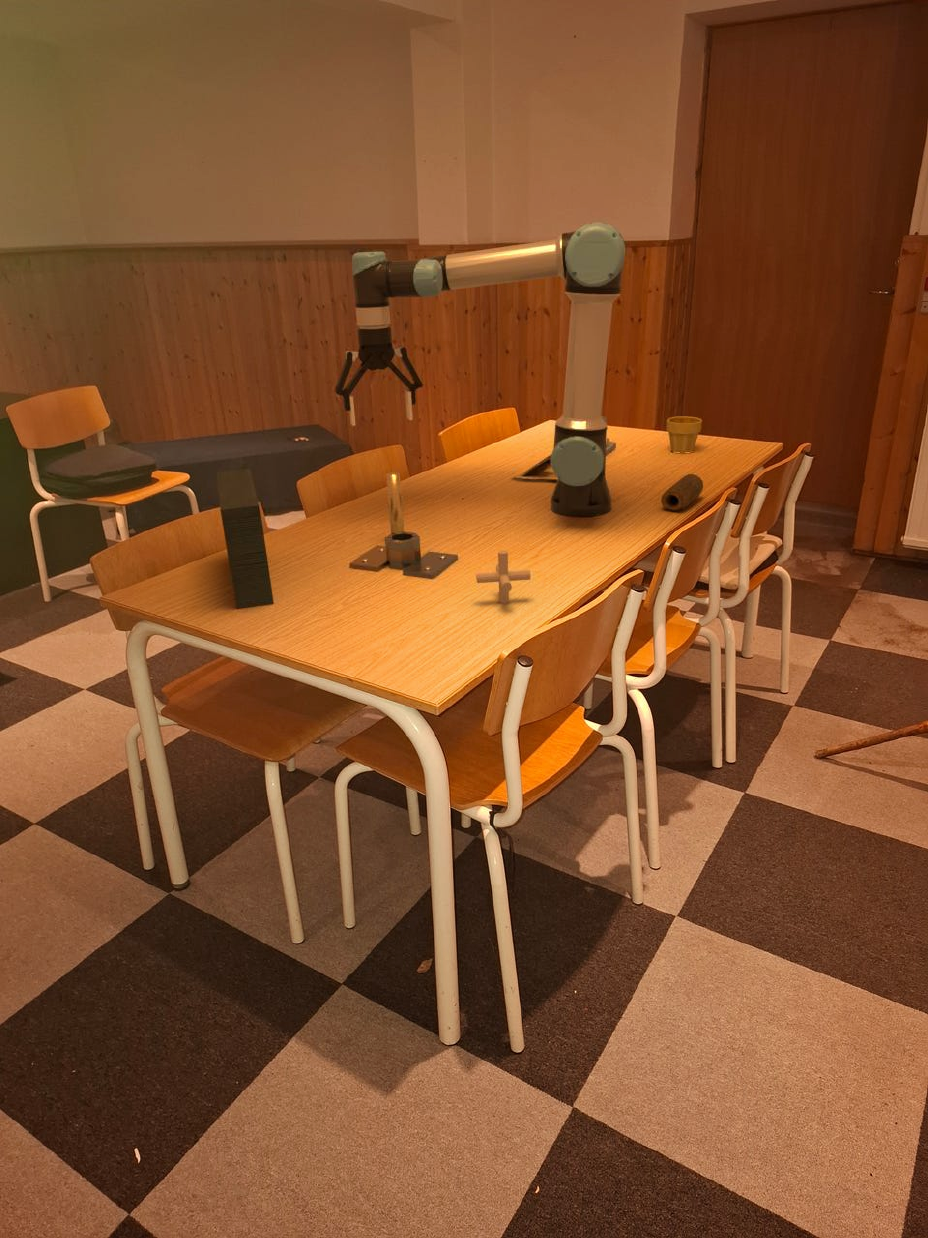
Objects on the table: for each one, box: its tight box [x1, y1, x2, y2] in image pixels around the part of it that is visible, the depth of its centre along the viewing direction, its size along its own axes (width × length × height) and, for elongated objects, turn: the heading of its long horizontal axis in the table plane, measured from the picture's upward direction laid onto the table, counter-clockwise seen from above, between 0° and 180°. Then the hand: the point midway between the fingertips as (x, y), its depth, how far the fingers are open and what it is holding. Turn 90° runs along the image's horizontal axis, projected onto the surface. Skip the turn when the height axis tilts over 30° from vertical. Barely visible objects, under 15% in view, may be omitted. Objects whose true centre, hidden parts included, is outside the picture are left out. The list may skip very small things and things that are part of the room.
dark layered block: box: [216, 468, 275, 610], centre depth 171 cm, size 29×7×20 cm, turn 16°
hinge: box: [348, 530, 459, 580], centre depth 179 cm, size 20×12×6 cm, turn 65°
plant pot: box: [666, 415, 703, 453], centre depth 258 cm, size 10×10×10 cm
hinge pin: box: [385, 471, 405, 534], centre depth 190 cm, size 3×3×16 cm
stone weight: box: [660, 473, 704, 511], centre depth 209 cm, size 15×7×7 cm, turn 151°
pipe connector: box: [475, 549, 531, 604], centre depth 158 cm, size 10×10×10 cm
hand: (381, 421), depth 198 cm, fingers open, 13 cm apart
